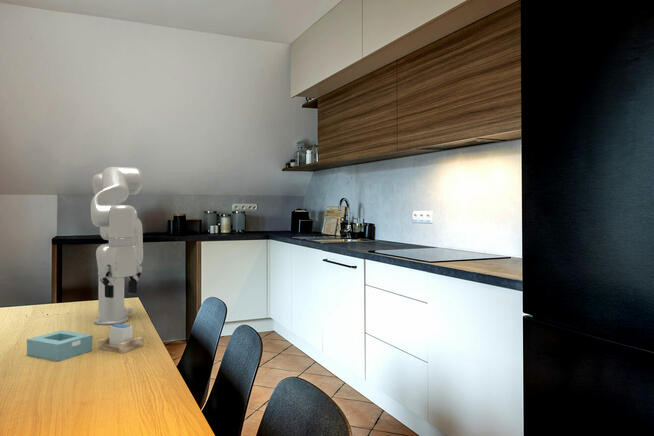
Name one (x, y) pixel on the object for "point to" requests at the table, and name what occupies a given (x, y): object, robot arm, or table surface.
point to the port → (59, 345)
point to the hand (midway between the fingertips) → (121, 295)
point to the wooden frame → (121, 345)
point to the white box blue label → (120, 334)
